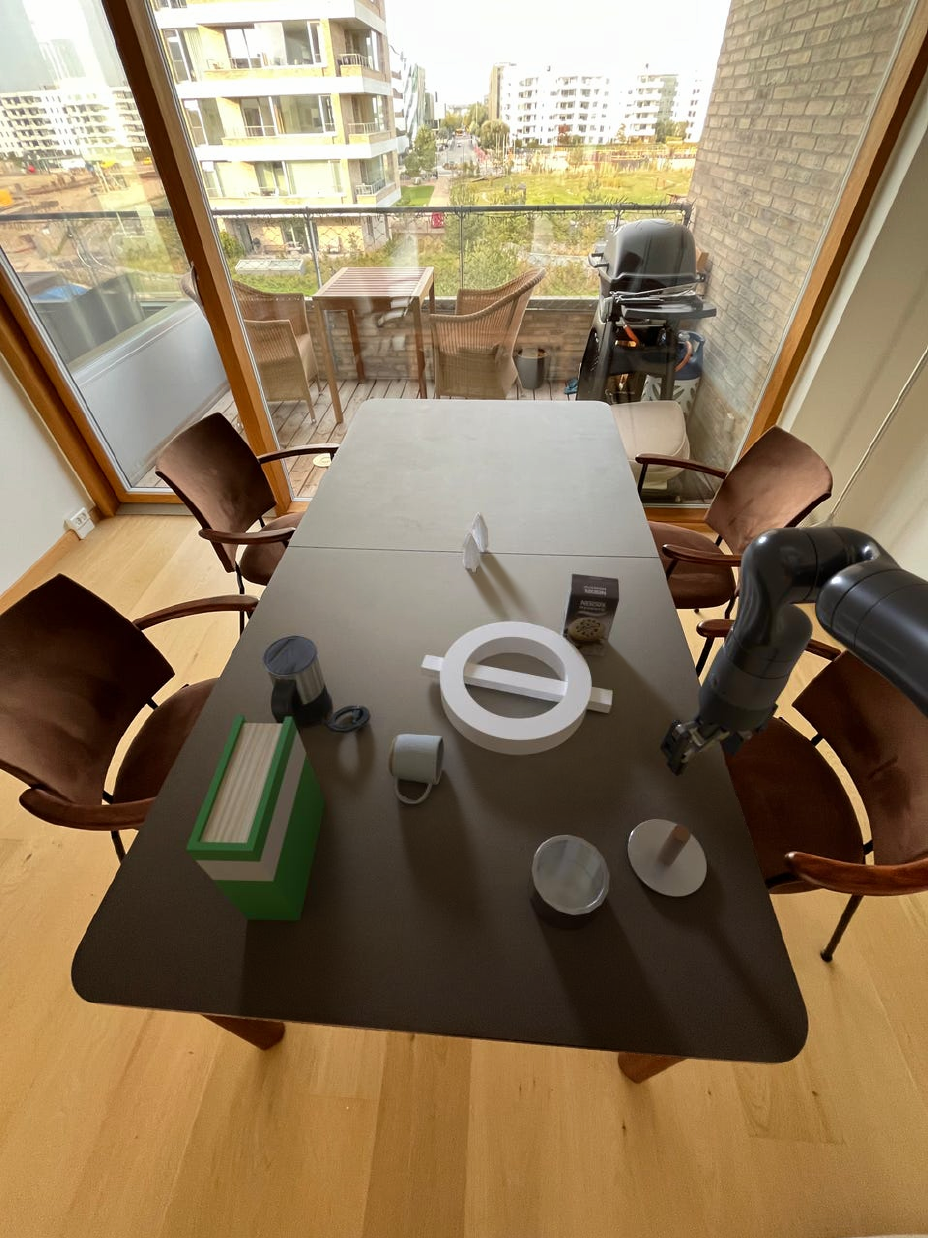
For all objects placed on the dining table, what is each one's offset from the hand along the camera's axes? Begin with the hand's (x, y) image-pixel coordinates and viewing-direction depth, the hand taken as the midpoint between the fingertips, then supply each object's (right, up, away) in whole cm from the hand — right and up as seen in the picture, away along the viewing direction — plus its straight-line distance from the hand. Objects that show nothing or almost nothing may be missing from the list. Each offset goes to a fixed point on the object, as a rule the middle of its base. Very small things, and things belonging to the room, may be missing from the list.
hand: (701, 760), depth 73 cm
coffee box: (-7, +13, +41) cm, 44 cm away
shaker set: (-29, +34, +62) cm, 76 cm away
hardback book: (-58, -18, +11) cm, 62 cm away
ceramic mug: (-39, -8, +20) cm, 45 cm away
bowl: (-17, -21, +7) cm, 28 cm away
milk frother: (-57, +1, +29) cm, 64 cm away
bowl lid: (-1, -17, +10) cm, 20 cm away
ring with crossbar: (-22, +5, +33) cm, 40 cm away
